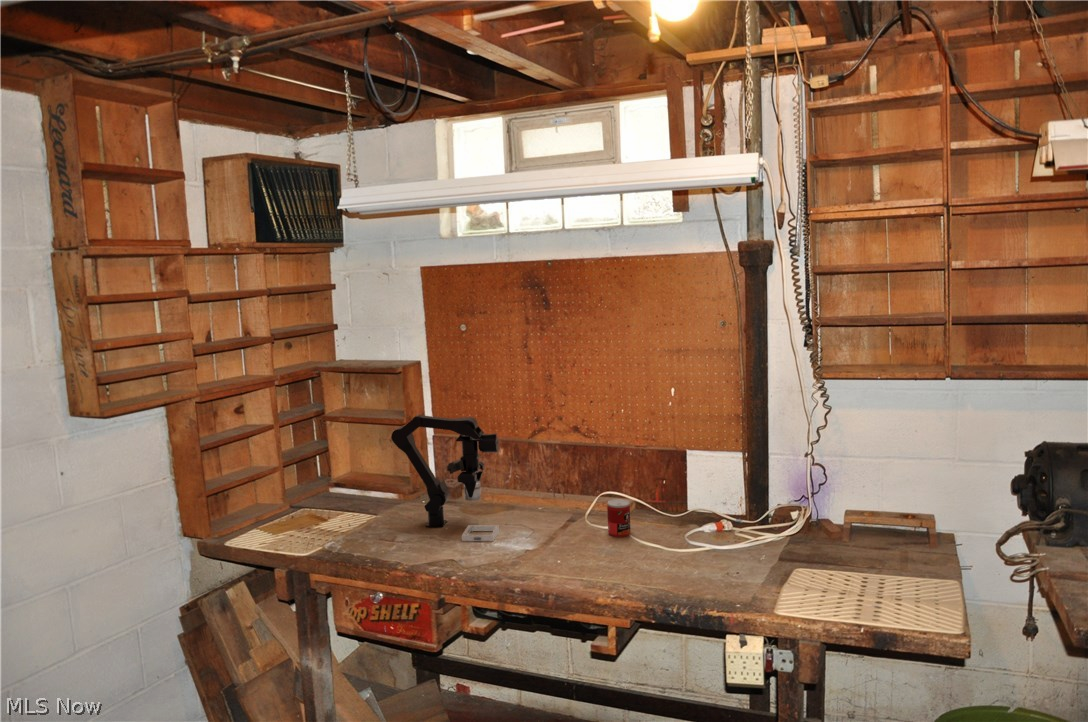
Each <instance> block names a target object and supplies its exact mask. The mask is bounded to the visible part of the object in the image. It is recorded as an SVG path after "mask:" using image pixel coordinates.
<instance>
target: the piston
mask: <svg viewBox="0 0 1088 722" xmlns="http://www.w3.org/2000/svg"><path fill="white" fill-rule="evenodd" d="M481 485H482V484H481V481H480V482H479V481H478V480H477V483H476V487H475V490H474V493H473V497H472V498H469V495H468V492H467V489H466V487H465V485H464V484H463V493H464V495H463V496H464V500H465V501H468V502H469V501H471V502H472V501H479V500H481V499H482V489H481V487H482V486H481Z"/></svg>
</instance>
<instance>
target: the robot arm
mask: <svg viewBox="0 0 1088 722" xmlns="http://www.w3.org/2000/svg"><path fill="white" fill-rule="evenodd" d="M419 428H426V429H436V430H443V431H444V430H445V431H452V432H454V433H456V434H459V435H458V437H457V438H456V439H455V442H461V451H462V452H461V453H462V455H461V457H460V459H457V460H455V461H451V462H449V463H447V465H446V468H447V469H446V471H447V472H449V475H452V474H454V473H455V472H458V471H460V473H459V474H458V475H457V476H456V477H457V478H456V479H457V482H458V483H462V484H463V486H464V485H465V487H466V489H467V492H468V495H469V498H472V497H473V493H474V490H475V487H476V483H477V480H478V481H479V482H480V483H481V478H482V476H483V473H484V471H485V468H486V467H485V463H484V462H483V461H480V460H479V458H480V457H481V456H480V453H479V452H481V453H483V454H487V453H488V454H489V453H494V454H495V453H499V451H500V440H499V437H498V434H497V433H495V432H494V433H485V432H484V431H483V430H482V428H481V427H480V425H479V423H478V420H477V419H476V418H474V417H473V416H468V417H467V416H466V417H463V416H462V417H458V418H457V417H456V418H448V417H442V416H440V417H438V416H430V415H423V414H417V415H416V416H414V417H413V418H412V419H411V420H410V421H408V422H407V423H406V424H405V425H402V426H399V427H398V428H395V430H393V431H392V433H391V437H390V439H391V441H392V443H393V444H394V445H395V446H396V447H397V449H399V450H401V451H402V452H403V453H404V454H405V455H406V456H407V458H408V460H409V462H410V463H411V464H412V466H413V467H414V470H415V471H416V472H417V474H418V476H419V477H420V479H421V480H422V482H423V484H424V485H425V488H426V492H427V495H428V498H429V500H428V502H427V503H425V505H424V510H425V511H426V512H427V518H428V519H427V521H428V522H427V523H426V524H425V527H426V528H443V527H444V526H445V525H446V524H447V522H448V520H447V519H445V514H444V513H445V512H444V505H445V504H446V502H447V501H448V500H449V498H450V491H449V490H450V489H451V488H450V487H449V486H448V485H447V483H446V481H445V480H444V479H443V480H442V481H440V480H439V479H437V477H436V476H435V475H434V473H433V471H432V469H431V468H430V467H429V464H428V463H427V461H426V460H425V458H424V457H423V455H422V453H421V452H420V450H419V449H418V447H417V445H416V441H415V437H414V434H413V433H414V432H415V431H416V430H418V429H419Z"/></svg>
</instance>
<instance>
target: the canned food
mask: <svg viewBox="0 0 1088 722" xmlns="http://www.w3.org/2000/svg"><path fill="white" fill-rule="evenodd" d="M630 503H631V502H630V501H628V500H627V499H619V498H618V499H617V498H615V499H610V500H608V501H607V504H606V506H607V507H606V508H607V509H606V510H607V511H606V512H607V532H608V534H609V535H610V536H612V537H615V538H625V537H628V536H629V535H630V534H631V504H630Z"/></svg>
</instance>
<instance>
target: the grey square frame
mask: <svg viewBox="0 0 1088 722" xmlns="http://www.w3.org/2000/svg"><path fill="white" fill-rule="evenodd" d="M473 531H493V532H491V534H471V532H473ZM499 531H500V526H499V524H496V525H495V524H475V525H474V524H468V525H467V527H466V528H465V529H464V531H463V533H462V534H461V542H494V541H495V540H496V538H497V535H498V534H499ZM469 533H470V534H469ZM495 537H496V538H495ZM494 539H495V540H494Z"/></svg>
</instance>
